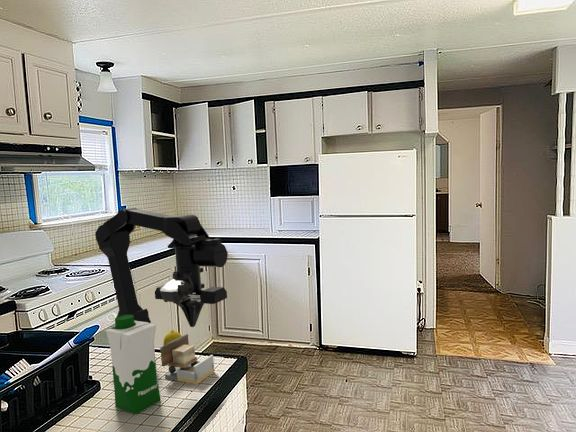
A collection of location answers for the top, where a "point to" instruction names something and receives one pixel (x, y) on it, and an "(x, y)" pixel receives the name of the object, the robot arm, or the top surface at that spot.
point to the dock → (194, 371)
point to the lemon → (171, 337)
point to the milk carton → (133, 364)
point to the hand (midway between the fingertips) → (192, 326)
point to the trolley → (178, 354)
